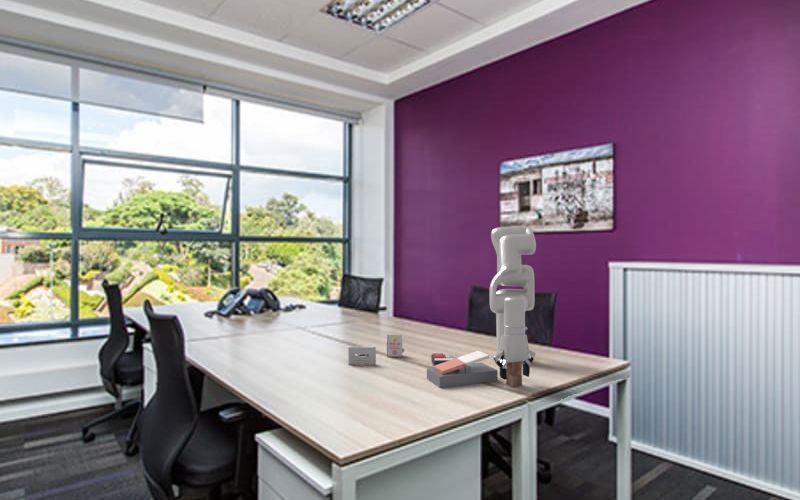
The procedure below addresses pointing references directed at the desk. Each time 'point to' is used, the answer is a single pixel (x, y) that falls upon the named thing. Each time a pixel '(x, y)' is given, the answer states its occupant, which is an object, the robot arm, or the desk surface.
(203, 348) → the desk surface
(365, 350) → the cassette
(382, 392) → the desk surface
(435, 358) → the calculator
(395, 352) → the white cardboard box
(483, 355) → the breaker rocker
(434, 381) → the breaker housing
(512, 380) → the peg
